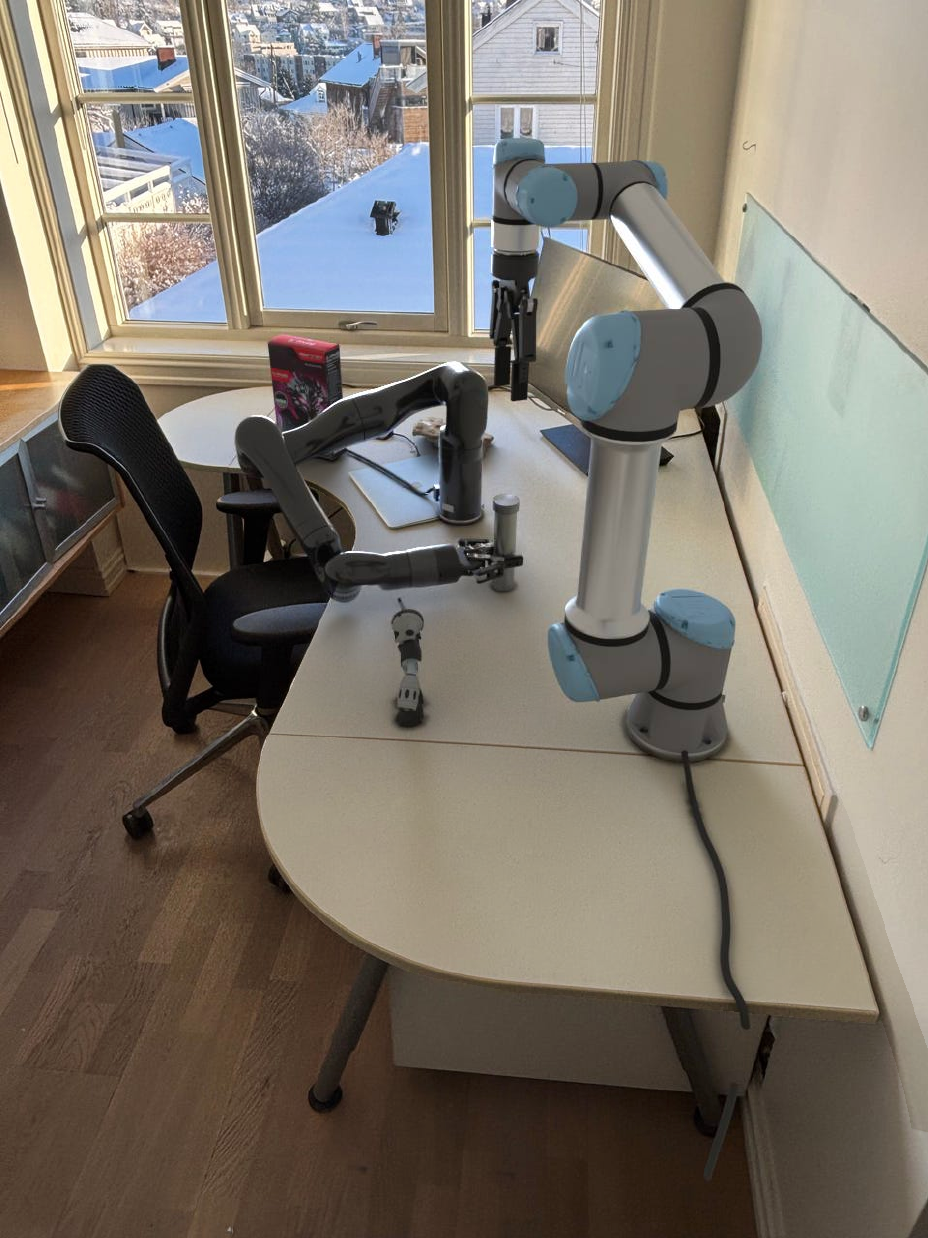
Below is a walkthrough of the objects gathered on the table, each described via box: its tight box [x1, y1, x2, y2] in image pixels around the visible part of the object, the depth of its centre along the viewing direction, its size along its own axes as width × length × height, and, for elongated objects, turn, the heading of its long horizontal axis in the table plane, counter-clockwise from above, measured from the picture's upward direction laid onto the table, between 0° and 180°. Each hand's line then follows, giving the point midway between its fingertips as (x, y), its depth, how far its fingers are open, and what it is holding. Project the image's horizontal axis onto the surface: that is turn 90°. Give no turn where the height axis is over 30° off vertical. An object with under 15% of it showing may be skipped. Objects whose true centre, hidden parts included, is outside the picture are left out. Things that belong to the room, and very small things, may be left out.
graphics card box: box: [267, 333, 348, 461], centre depth 223 cm, size 17×7×27 cm, turn 62°
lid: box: [492, 493, 521, 515], centre depth 168 cm, size 5×5×2 cm
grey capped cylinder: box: [491, 511, 518, 592], centre depth 173 cm, size 4×4×18 cm
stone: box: [411, 416, 495, 458], centre depth 231 cm, size 21×15×6 cm
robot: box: [390, 597, 425, 728], centre depth 141 cm, size 20×5×20 cm, turn 3°
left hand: (517, 553), depth 175 cm, fingers closed on grey capped cylinder, 4 cm apart
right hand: (510, 391), depth 157 cm, fingers open, 7 cm apart
